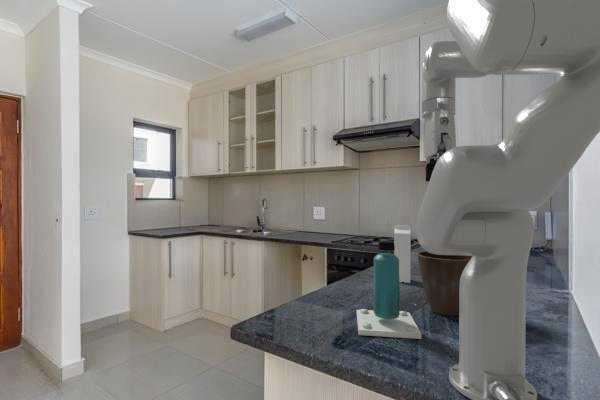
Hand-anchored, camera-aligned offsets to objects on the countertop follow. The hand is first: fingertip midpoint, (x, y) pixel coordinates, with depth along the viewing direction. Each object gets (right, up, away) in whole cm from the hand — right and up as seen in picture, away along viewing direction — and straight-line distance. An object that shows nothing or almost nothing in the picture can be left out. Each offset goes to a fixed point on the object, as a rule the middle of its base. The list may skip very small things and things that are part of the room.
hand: (437, 180), depth 78 cm
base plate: (-12, -36, +3) cm, 38 cm away
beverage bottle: (-12, -35, +2) cm, 37 cm away
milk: (+6, -37, +48) cm, 60 cm away
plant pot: (+8, -37, +13) cm, 40 cm away
